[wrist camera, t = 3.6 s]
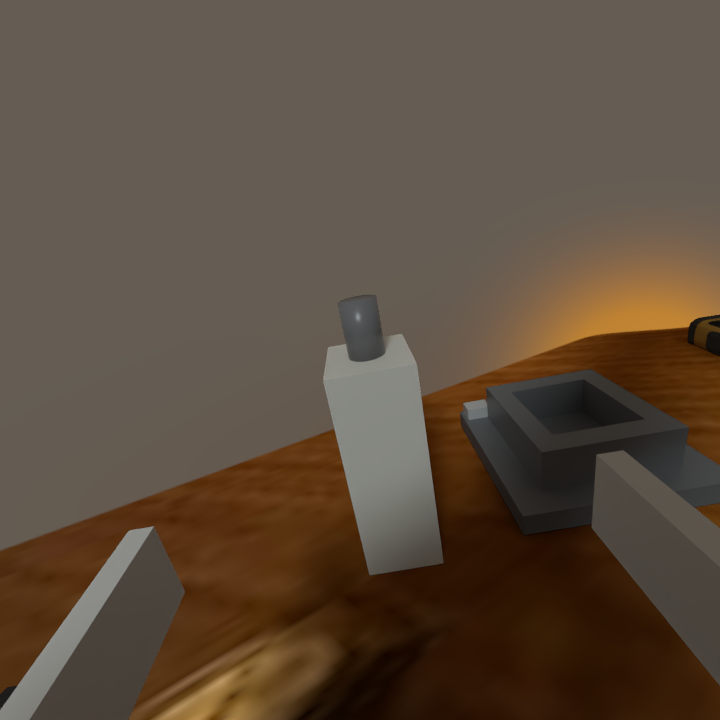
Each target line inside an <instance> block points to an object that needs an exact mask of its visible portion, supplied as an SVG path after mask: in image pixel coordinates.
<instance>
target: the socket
mask: <svg viewBox="0 0 720 720" xmlns="http://www.w3.org/2000/svg"><path fill="white" fill-rule="evenodd" d="M486 392H487V402H486V401H485V399H484V400H479V401H473V402H467V403H463V408H464V412H460V416H461V426H462V428H463V429H464V431H465V433H466V435H467V437H468V438H469V440H470V442H471V444H472V445H473V447H474V449H475V451H476V452H477V454H478V456H479V458H480V459H481V461H482V463H483V465H484V466H485V468H486V470H487V472H488V473H489V475H490V477H491V479H492V480H493V482H494V484H495V486H496V487H497V489H498V491H499V493H500V494H501V496H502V498H503V500H504V501H505V503H506V505H507V507H508V508H509V510H510V512H511V514H512V515H513V517H514V519H515V521H516V522H517V524H518V526H519V528H520V529H521V531H522V533H523V535H528V534H534V533H540V532H546V531H552V530H558V529H564V528H570V527H576V526H582V525H588V524H592V514H593V499H594V485H595V470H596V456H597V454H603V453H609V452H616V451H622V450H624V451H625V452H626V453H627V454H629V455H630V456H631V457H632V458H634V459H635V460H636V461H637V462H638V463H640V464H641V465H642V466H643V467H645V468H646V469H647V470H648V471H650V472H651V473H652V474H653V475H655V476H656V477H657V478H658V479H659V480H661V481H662V482H663V483H664V484H666V485H667V486H668V487H669V488H671V489H672V490H673V491H674V492H676V493H677V494H678V495H679V496H680V497H682V498H683V499H684V500H685V501H687V502H688V503H689V504H690V505H692V506H693V507H698V506H704V505H710V504H716V503H720V465H718V464H717V463H715V462H713V461H712V460H710V459H709V458H707V457H706V456H704V455H703V454H701V453H699V452H698V451H696V450H695V449H693V448H692V447H690V446H689V445H687V444H686V442H687V436H688V430H689V427H688V426H686V425H684V424H683V423H681V422H679V421H678V420H676V419H674V418H673V417H671V416H669V415H668V414H666V413H664V412H662V411H661V410H659V409H657V408H656V407H654V406H652V405H651V404H649V403H647V402H646V401H644V400H642V399H640V398H639V397H637V396H635V395H634V394H632V393H630V392H629V391H627V390H625V389H624V388H622V387H620V386H618V385H617V384H615V383H613V382H612V381H610V380H608V379H607V378H605V377H603V376H601V375H600V374H598V373H596V372H595V371H593V370H591V369H589V370H583V371H578V372H572V373H566V374H561V375H555V376H549V377H544V378H538V379H532V380H527V381H521V382H516V383H510V384H504V385H499V386H493V387H487V388H486Z"/></svg>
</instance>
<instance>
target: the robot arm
mask: <svg viewBox="0 0 720 720" xmlns="http://www.w3.org/2000/svg"><path fill="white" fill-rule="evenodd" d="M592 529H593V530H594V531H595V533H596V534H597V535H598V536H599V538H600V539H601V540H602V541H603V542H604V544H605V545H606V546H607V547H608V549H609V550H610V551H611V552H612V554H613V555H614V556H615V557H616V558H617V560H618V561H619V562H620V563H621V565H622V566H623V567H624V568H625V570H626V571H627V572H628V573H629V574H630V576H631V577H632V578H633V579H634V581H635V582H636V583H637V584H638V586H639V587H640V588H641V589H642V590H643V592H644V593H645V594H646V595H647V597H648V598H649V599H650V600H651V602H652V603H653V604H654V605H655V606H656V608H657V609H658V610H659V611H660V613H661V614H662V615H663V616H664V618H665V619H666V620H667V621H668V623H669V624H670V625H671V626H672V627H673V629H674V630H675V631H676V632H677V634H678V635H679V636H680V637H681V639H682V640H683V641H684V642H685V643H686V645H687V646H688V647H689V648H690V650H691V651H692V652H693V653H694V655H695V656H696V657H697V658H698V659H699V661H700V662H701V663H702V664H703V666H704V667H705V668H706V669H707V671H708V672H709V673H710V674H711V675H712V677H713V678H714V679H715V680H716V682H717V683H718V684H719V685H720V528H719V527H718V526H716V525H715V524H714V523H713V522H711V521H710V520H709V519H708V518H706V517H705V516H704V515H703V514H701V513H700V512H699V511H698V510H697V509H695V508H694V507H693V506H692V505H690V504H689V503H688V502H687V501H685V500H684V499H683V498H682V497H680V496H679V495H678V494H677V493H676V492H674V491H673V490H672V489H671V488H669V487H668V486H667V485H666V484H664V483H663V482H662V481H661V480H659V479H658V478H657V477H656V476H655V475H653V474H652V473H651V472H650V471H648V470H647V469H646V468H645V467H643V466H642V465H641V464H640V463H638V462H637V461H636V460H635V459H634V458H632V457H631V456H630V455H629V454H627V453H626V452H625V451H624V450H622V451H616V452H609V453H603V454H597V456H596V470H595V485H594V499H593V514H592ZM184 593H185V590H184V588H183V586H182V584H181V582H180V580H179V578H178V576H177V574H176V572H175V570H174V567H173V565H172V563H171V561H170V559H169V557H168V555H167V553H166V551H165V549H164V547H163V545H162V542H161V540H160V538H159V536H158V534H157V532H156V530H155V528H154V527H148V528H142V529H136V530H130V531H128V533H127V534H126V535H125V537H124V538H123V540H122V541H121V542H120V544H119V545H118V547H117V548H116V549H115V551H114V552H113V554H112V555H111V556H110V558H109V559H108V561H107V562H106V563H105V565H104V566H103V567H102V569H101V570H100V572H99V573H98V574H97V576H96V577H95V579H94V580H93V581H92V583H91V584H90V586H89V587H88V588H87V590H86V591H85V593H84V594H83V595H82V597H81V598H80V600H79V601H78V602H77V604H76V605H75V607H74V608H73V609H72V611H71V612H70V613H69V615H68V616H67V618H66V619H65V620H64V622H63V623H62V625H61V626H60V627H59V629H58V630H57V632H56V633H55V634H54V636H53V637H52V639H51V640H50V641H49V643H48V644H47V646H46V647H45V648H44V650H43V651H42V653H41V654H40V655H39V657H38V658H37V659H36V661H35V662H34V664H33V665H32V666H31V668H30V669H29V671H28V672H27V673H26V675H25V676H24V678H23V679H22V680H21V682H20V683H19V685H18V686H13V687H7V688H6V689H5V690H4V691H3V692H2V693H1V694H0V720H128V719H129V717H130V715H131V712H132V710H133V708H134V705H135V703H136V701H137V699H138V696H139V694H140V692H141V690H142V687H143V685H144V683H145V681H146V678H147V676H148V674H149V672H150V669H151V667H152V665H153V663H154V660H155V658H156V656H157V654H158V651H159V649H160V647H161V645H162V642H163V640H164V638H165V636H166V633H167V631H168V629H169V627H170V624H171V622H172V620H173V618H174V615H175V613H176V611H177V609H178V606H179V604H180V602H181V600H182V597H183V595H184Z"/></svg>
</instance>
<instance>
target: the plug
mask: <svg viewBox="0 0 720 720" xmlns="http://www.w3.org/2000/svg"><path fill="white" fill-rule="evenodd" d="M338 308H339V313H340V318H341V323H342V328H343V332H344V337H345V342H346V344H344V345H338V346H333V347H328V352H327V358H326V365H325V371H324V378H323V382H324V386H325V391H326V395H327V399H328V403H329V407H330V411H331V416H332V420H333V424H334V428H335V433H336V437H337V441H338V445H339V449H340V454H341V458H342V462H343V466H344V470H345V475H346V479H347V483H348V487H349V491H350V496H351V500H352V504H353V508H354V512H355V517H356V521H357V525H358V529H359V533H360V538H361V542H362V546H363V550H364V554H365V559H366V563H367V567H368V571H369V575H376V574H382V573H388V572H394V571H400V570H406V569H412V568H418V567H424V566H431V565H437V564H443V563H444V562H443V554H442V547H441V539H440V532H439V525H438V517H437V510H436V502H435V495H434V488H433V480H432V473H431V466H430V458H429V451H428V443H427V436H426V429H425V421H424V414H423V406H422V399H421V392H420V384H419V377H418V369H417V364H416V361H415V359H414V357H413V355H412V353H411V351H410V349H409V347H408V345H407V343H406V341H405V339H404V338H403V336H402V334H398V335H392V336H387V337H383V334H382V328H381V322H380V316H379V310H378V304H377V298H376V296H375V295H361V296H355V297H351V298H347V299H344V300H342V301H340V302H338Z"/></svg>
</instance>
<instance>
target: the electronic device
mask: <svg viewBox="0 0 720 720" xmlns="http://www.w3.org/2000/svg"><path fill="white" fill-rule="evenodd" d="M688 342H689V343H691V344H694V345H697V346H699V347H702V348H704V349H707V350H708V351H710V352H712V353H714V354H717V355H719V356H720V315H715V316H708V317H702V318H698V319H695V320H694V321H693V322H691V323H690V326H689V332H688Z"/></svg>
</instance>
